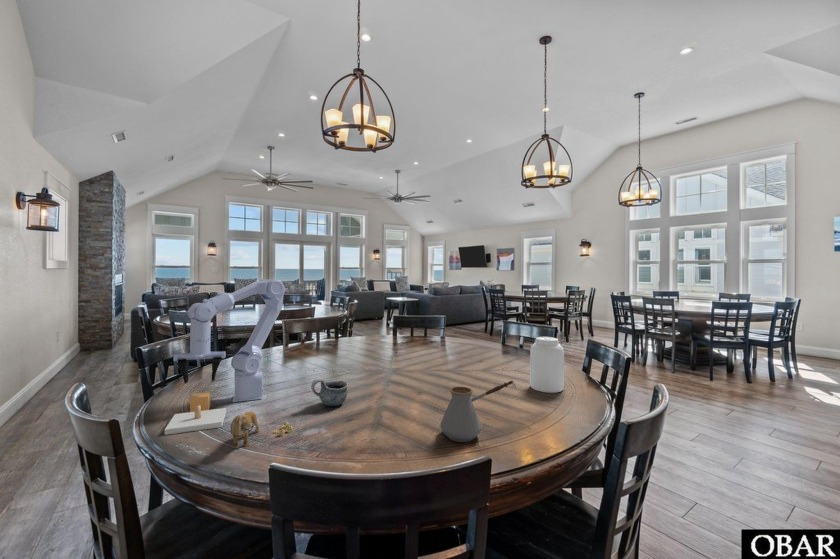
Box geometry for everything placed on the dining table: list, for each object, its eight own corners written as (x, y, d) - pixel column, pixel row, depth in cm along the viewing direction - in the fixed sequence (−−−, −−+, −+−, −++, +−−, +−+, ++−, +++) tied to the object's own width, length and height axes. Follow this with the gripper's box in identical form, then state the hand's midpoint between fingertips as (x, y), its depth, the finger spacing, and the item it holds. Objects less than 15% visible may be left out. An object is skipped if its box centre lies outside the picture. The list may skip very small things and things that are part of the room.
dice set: (287, 428, 108) (287, 421, 108) (296, 433, 105) (296, 426, 105) (270, 434, 104) (270, 427, 104) (280, 439, 101) (280, 432, 101)
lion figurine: (250, 452, 92) (250, 417, 92) (227, 455, 91) (227, 419, 91) (261, 428, 106) (260, 397, 106) (241, 430, 105) (240, 399, 105)
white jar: (570, 389, 143) (570, 338, 143) (550, 395, 136) (550, 341, 136) (543, 381, 154) (543, 334, 153) (523, 386, 146) (523, 336, 146)
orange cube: (210, 406, 124) (210, 391, 124) (208, 411, 119) (208, 396, 119) (193, 408, 122) (193, 393, 122) (190, 413, 117) (190, 398, 117)
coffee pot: (444, 446, 96) (444, 389, 96) (436, 428, 107) (437, 377, 107) (522, 442, 99) (523, 386, 98) (507, 424, 110) (507, 375, 110)
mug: (353, 404, 126) (353, 375, 126) (321, 414, 117) (321, 383, 117) (337, 397, 133) (337, 370, 133) (306, 407, 124) (305, 377, 123)
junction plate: (226, 412, 118) (226, 397, 118) (221, 427, 107) (221, 410, 107) (174, 418, 113) (174, 402, 113) (164, 434, 102) (164, 417, 102)
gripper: (171, 342, 114) (170, 386, 114) (223, 340, 119) (223, 382, 119) (176, 339, 120) (176, 380, 120) (226, 337, 126) (226, 377, 126)
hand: (199, 381), depth 120 cm, fingers open, 7 cm apart
